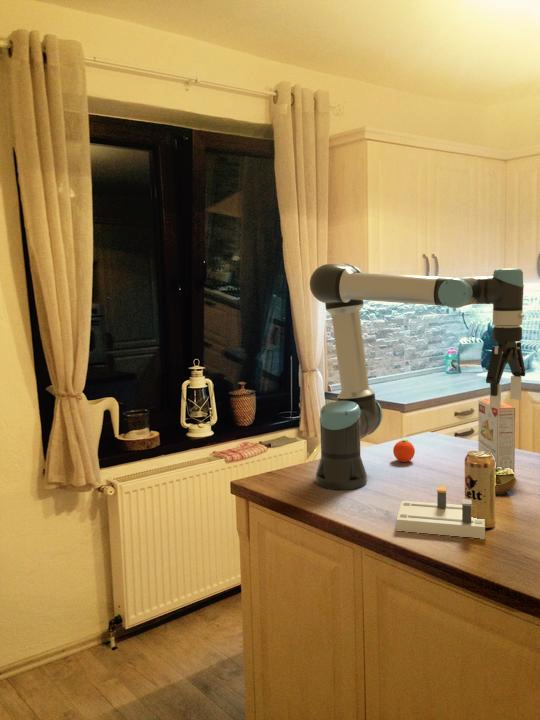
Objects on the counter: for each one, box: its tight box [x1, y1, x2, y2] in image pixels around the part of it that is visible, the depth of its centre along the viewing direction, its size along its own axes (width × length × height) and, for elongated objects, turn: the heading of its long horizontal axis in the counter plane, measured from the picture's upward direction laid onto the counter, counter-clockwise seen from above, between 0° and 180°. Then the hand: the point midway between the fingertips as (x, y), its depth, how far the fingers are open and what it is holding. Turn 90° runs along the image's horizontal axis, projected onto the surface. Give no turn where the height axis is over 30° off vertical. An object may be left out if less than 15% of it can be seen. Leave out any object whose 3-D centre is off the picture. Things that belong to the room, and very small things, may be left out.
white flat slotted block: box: [395, 500, 486, 540], centre depth 153 cm, size 20×13×3 cm, turn 72°
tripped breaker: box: [436, 485, 447, 508], centre depth 156 cm, size 2×3×4 cm
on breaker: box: [461, 498, 473, 522], centre depth 147 cm, size 2×3×4 cm
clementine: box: [392, 439, 416, 463], centre depth 206 cm, size 8×7×7 cm
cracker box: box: [477, 398, 516, 473], centre depth 193 cm, size 14×6×21 cm, turn 4°
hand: (505, 403), depth 173 cm, fingers open, 13 cm apart
